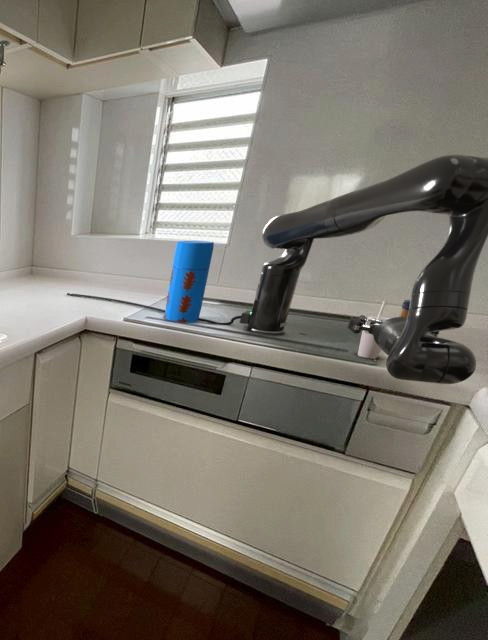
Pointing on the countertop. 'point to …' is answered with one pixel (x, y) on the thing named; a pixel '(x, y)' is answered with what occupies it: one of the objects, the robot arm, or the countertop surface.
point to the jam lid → (406, 304)
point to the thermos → (188, 280)
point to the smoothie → (370, 339)
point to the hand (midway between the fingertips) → (383, 321)
